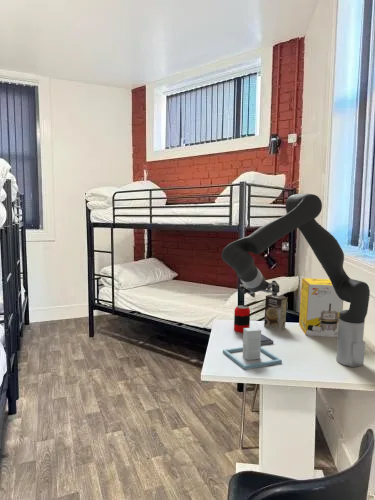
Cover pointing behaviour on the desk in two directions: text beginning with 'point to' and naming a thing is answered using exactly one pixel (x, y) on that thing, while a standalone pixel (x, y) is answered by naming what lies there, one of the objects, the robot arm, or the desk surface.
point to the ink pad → (265, 340)
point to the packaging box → (319, 308)
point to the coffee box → (275, 312)
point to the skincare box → (251, 343)
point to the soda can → (241, 318)
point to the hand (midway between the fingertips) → (264, 294)
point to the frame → (275, 361)
